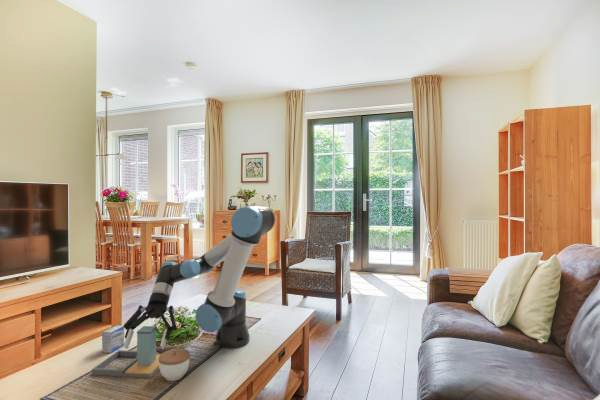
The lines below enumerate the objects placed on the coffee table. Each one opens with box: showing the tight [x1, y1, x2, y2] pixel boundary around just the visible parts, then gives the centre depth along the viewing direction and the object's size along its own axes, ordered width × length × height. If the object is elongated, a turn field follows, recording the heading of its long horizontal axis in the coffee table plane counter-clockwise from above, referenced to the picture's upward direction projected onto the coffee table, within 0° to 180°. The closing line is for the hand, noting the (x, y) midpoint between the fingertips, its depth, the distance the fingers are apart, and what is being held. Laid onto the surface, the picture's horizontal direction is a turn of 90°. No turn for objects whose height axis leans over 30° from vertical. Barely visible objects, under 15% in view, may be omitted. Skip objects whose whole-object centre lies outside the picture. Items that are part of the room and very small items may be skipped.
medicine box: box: [101, 324, 125, 354], centre depth 145 cm, size 8×4×9 cm, turn 168°
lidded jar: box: [159, 348, 191, 382], centre depth 123 cm, size 11×11×9 cm
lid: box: [121, 353, 161, 379], centre depth 130 cm, size 11×16×1 cm
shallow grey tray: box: [91, 349, 137, 377], centre depth 131 cm, size 12×16×2 cm
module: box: [136, 325, 157, 366], centre depth 130 cm, size 5×5×13 cm
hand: (143, 347), depth 128 cm, fingers open, 13 cm apart
